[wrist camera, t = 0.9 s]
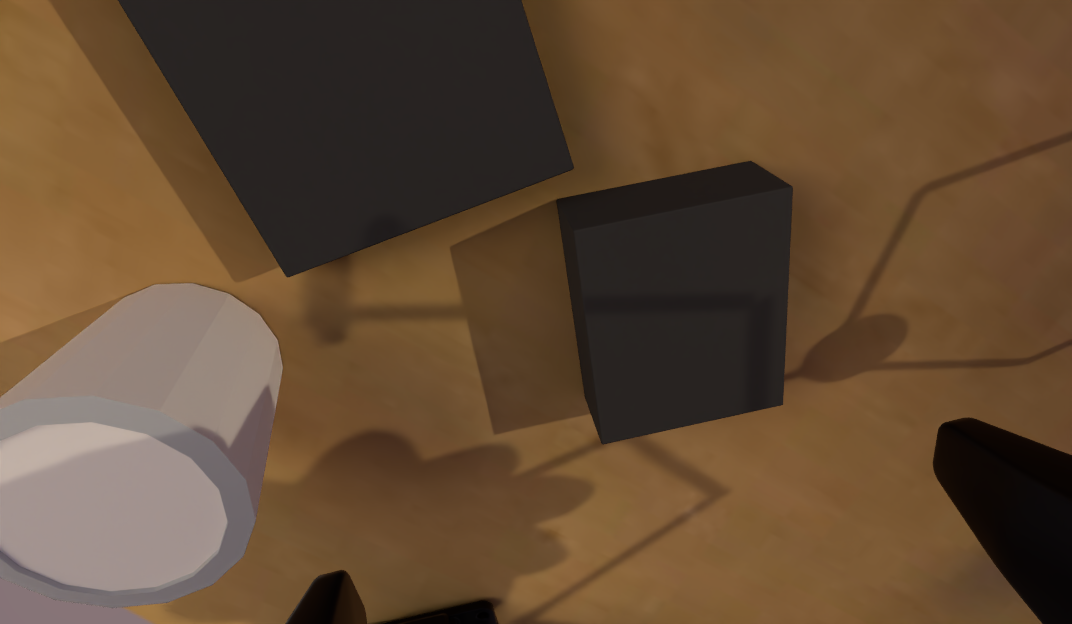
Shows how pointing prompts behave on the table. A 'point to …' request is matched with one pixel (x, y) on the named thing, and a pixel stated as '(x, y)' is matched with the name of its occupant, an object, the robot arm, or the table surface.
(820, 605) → the table surface
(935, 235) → the table surface
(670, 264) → the black pad
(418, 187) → the base pad
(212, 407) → the shot glass
